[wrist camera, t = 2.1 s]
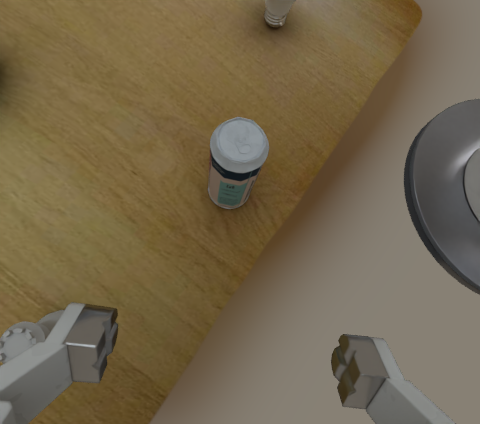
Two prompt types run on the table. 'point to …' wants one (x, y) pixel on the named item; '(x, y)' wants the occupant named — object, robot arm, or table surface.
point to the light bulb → (277, 11)
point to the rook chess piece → (26, 335)
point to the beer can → (235, 161)
